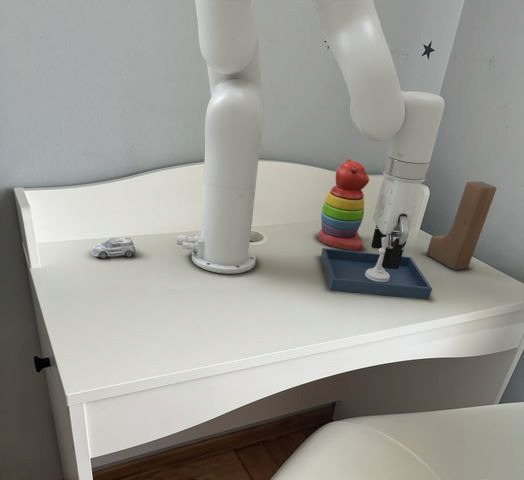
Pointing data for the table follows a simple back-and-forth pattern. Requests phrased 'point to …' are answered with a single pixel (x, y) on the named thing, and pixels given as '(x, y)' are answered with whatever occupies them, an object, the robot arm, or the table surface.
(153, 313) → the table surface
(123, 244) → the toy car
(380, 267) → the chess piece
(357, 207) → the stacking bear
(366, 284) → the tray
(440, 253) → the wooden block
